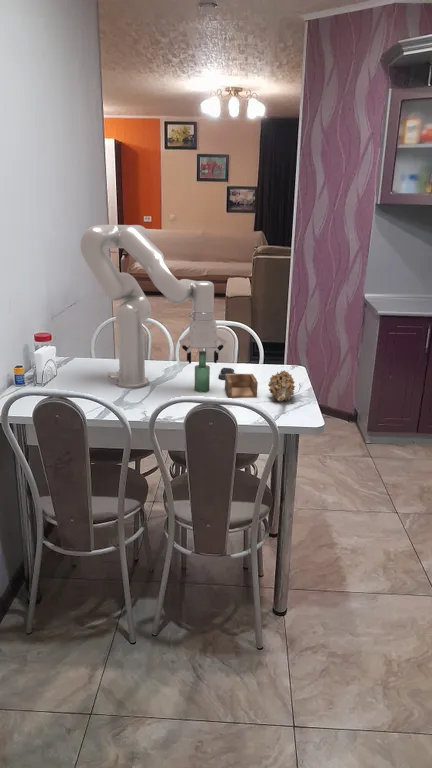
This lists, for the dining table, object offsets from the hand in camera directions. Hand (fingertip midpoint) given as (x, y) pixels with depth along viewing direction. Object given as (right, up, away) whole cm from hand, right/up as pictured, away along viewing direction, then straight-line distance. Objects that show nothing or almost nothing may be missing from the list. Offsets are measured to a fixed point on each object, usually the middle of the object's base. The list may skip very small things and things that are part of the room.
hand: (202, 362), depth 202 cm
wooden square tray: (+14, -11, +1) cm, 18 cm away
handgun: (+14, -6, +20) cm, 25 cm away
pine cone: (+28, -15, -8) cm, 33 cm away
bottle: (0, -10, +3) cm, 11 cm away
